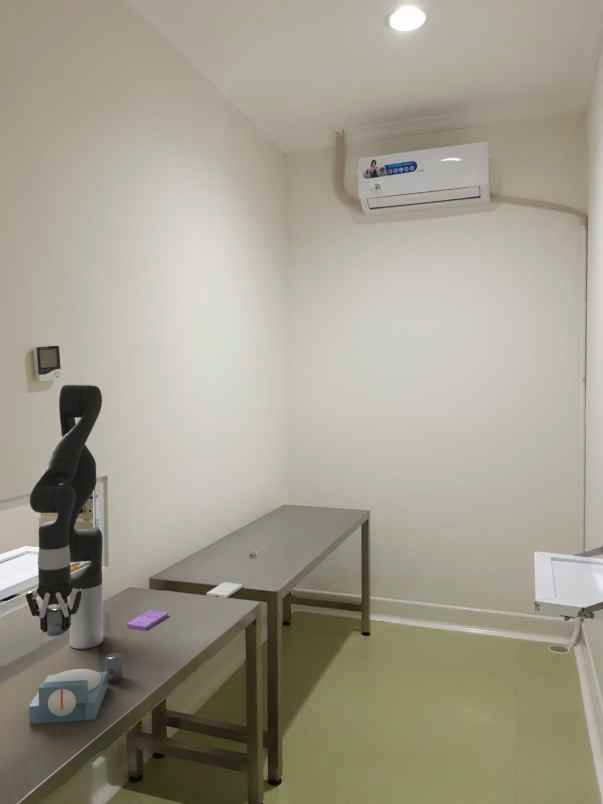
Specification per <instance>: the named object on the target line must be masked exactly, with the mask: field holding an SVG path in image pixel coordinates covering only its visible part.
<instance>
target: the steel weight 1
mask: <svg viewBox="0 0 603 804" xmlns="http://www.w3.org/2000/svg"><path fill="white" fill-rule="evenodd" d="M63 617H64V614H63V611H62V609H61V608H60V605H55V606H51V607H50V606H49V608H48V609H47V610H46V632H45V633H46V634H45V635H46V636H48V637H57V636H62V635H64V634H65V633H66V631H64V626H63Z"/></svg>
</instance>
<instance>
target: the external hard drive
mask: <svg viewBox="0 0 603 804" xmlns="http://www.w3.org/2000/svg"><path fill="white" fill-rule="evenodd" d="M243 587H244V585H243V584H240V583H233V582H226V581H225V582H222V583H220V584H219V585H217V586H216V587H214V588H212V589H210V590H209V591H207V592H206V596H211V597H218V598H225V599H228V598H229V597H230V596H232V595H234V594H235V593H236V592H238V591H240V590H241V589H242V588H243Z"/></svg>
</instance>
